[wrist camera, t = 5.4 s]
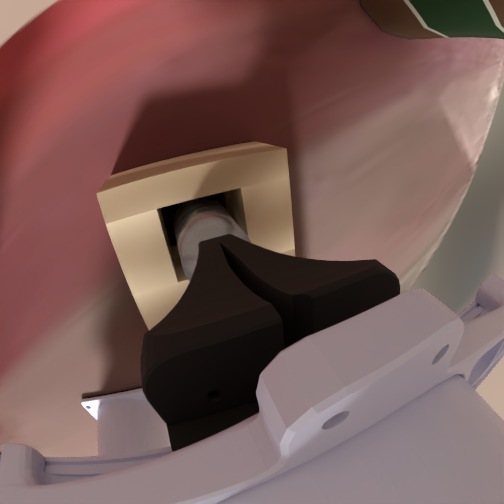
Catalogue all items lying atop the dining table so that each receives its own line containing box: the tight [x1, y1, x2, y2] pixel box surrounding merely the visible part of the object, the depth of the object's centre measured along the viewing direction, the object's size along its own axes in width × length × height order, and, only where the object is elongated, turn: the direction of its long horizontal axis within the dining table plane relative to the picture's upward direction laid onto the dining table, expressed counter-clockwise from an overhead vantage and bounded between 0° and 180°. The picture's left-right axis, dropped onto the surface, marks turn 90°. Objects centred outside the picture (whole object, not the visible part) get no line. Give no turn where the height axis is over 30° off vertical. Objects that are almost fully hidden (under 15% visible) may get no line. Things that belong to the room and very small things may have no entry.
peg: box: [173, 196, 252, 281], centre depth 13 cm, size 3×3×4 cm
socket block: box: [96, 141, 295, 330], centre depth 17 cm, size 15×9×4 cm, turn 7°
